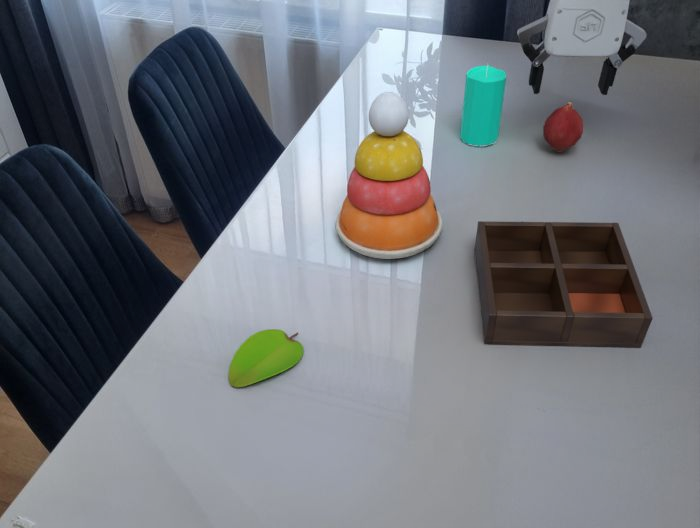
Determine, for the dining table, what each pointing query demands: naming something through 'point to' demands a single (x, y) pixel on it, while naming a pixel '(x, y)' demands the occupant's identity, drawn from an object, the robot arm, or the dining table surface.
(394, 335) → the dining table surface
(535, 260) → the grid
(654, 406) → the dining table surface
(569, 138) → the onion
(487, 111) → the candle
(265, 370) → the decorative leaf
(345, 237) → the stacking toy
